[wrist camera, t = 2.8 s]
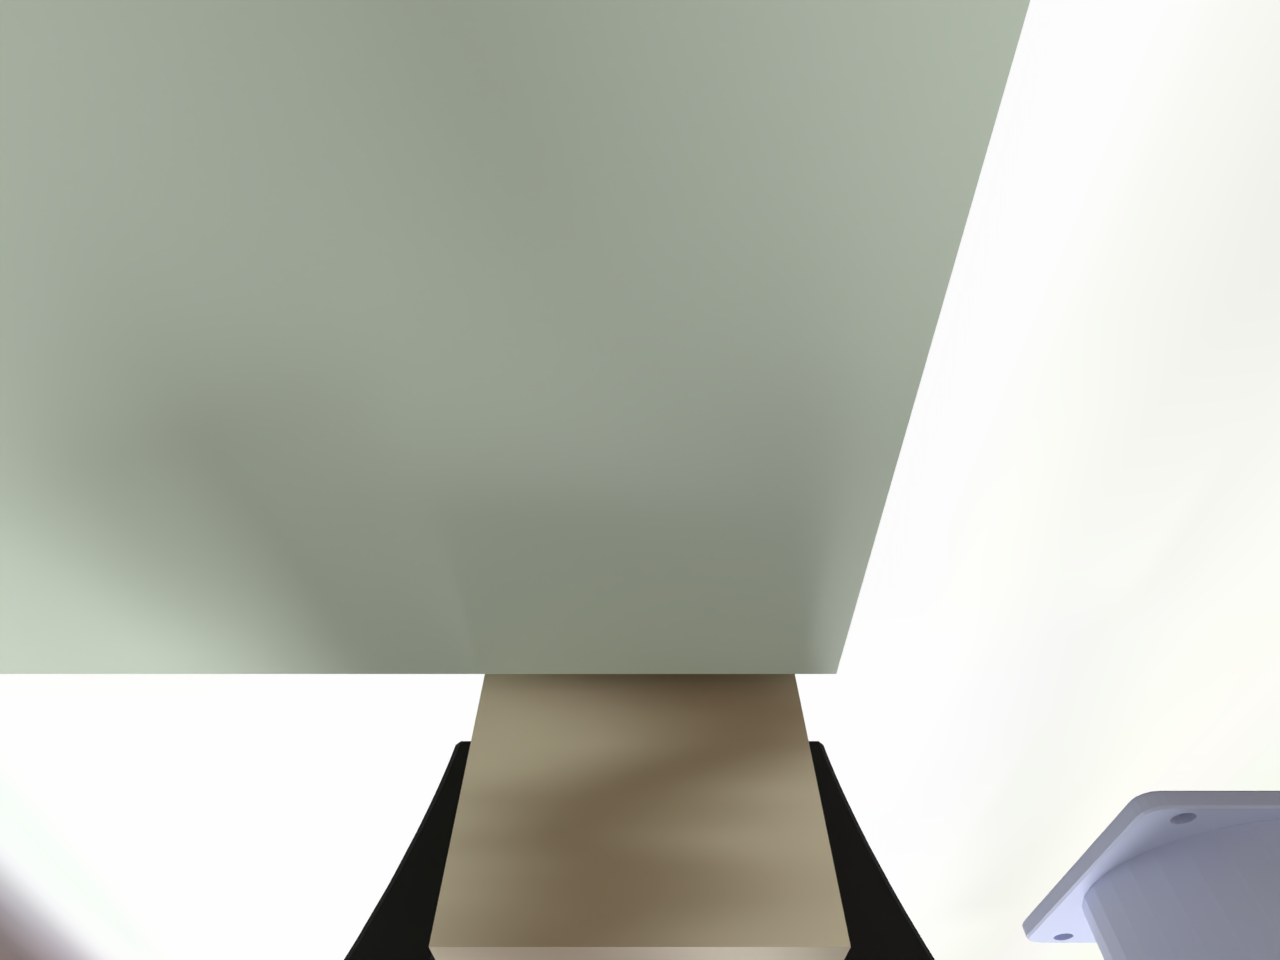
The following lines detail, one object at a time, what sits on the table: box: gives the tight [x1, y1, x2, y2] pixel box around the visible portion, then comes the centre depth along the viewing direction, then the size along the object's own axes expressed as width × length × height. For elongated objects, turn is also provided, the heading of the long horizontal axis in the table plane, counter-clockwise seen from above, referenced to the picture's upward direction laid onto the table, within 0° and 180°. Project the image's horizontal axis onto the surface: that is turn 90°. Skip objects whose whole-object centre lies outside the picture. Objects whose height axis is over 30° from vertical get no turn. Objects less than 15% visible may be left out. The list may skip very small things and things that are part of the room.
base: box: [0, 0, 1030, 674], centre depth 7 cm, size 14×14×2 cm
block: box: [429, 674, 851, 960], centre depth 12 cm, size 5×5×5 cm
